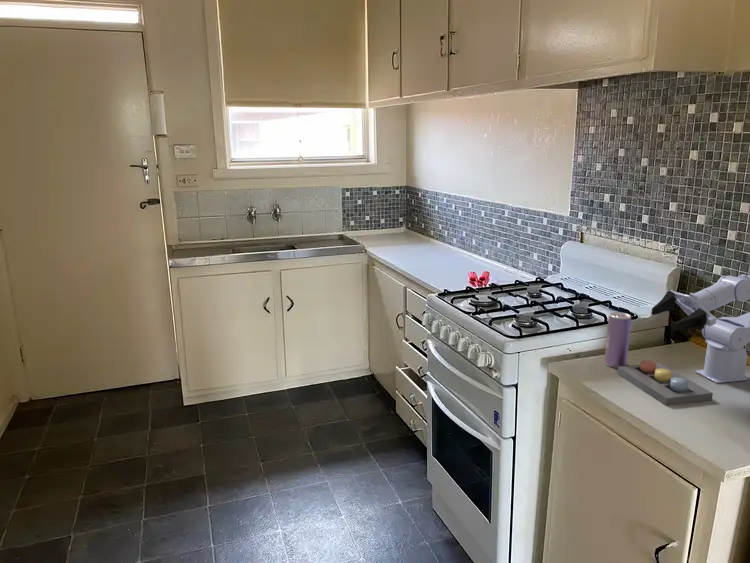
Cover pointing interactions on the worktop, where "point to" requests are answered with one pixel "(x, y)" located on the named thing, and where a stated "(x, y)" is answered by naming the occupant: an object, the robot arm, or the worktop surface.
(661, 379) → the ochre button
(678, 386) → the slate button
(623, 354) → the beverage can
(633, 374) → the panel
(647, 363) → the brick button
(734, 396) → the worktop surface
